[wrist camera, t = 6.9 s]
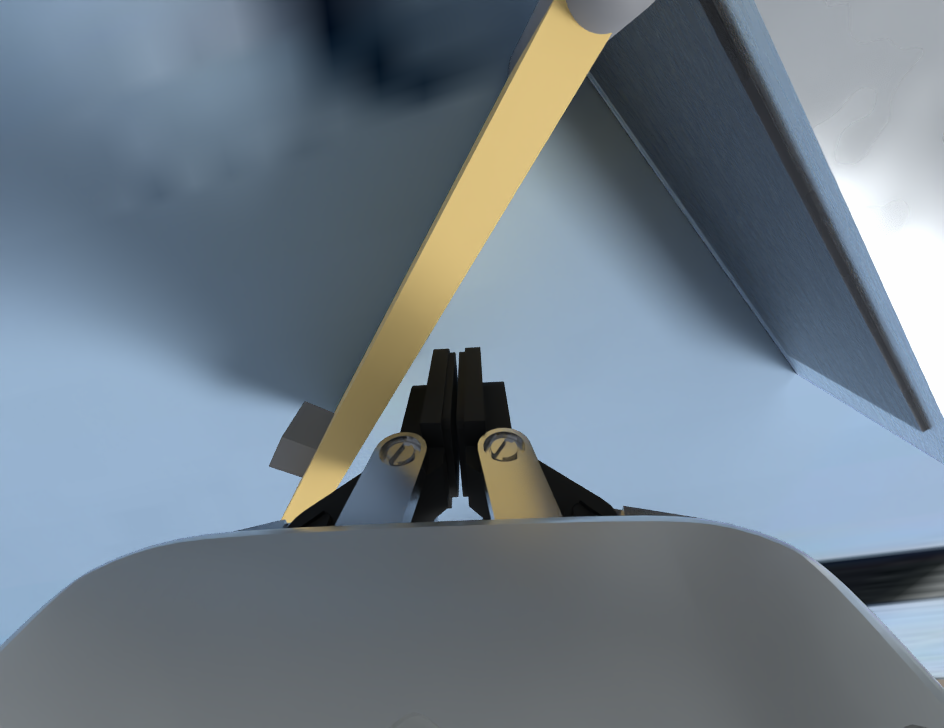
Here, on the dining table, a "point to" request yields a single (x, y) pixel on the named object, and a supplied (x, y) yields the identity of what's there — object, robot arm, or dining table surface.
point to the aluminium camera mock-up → (808, 178)
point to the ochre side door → (456, 233)
